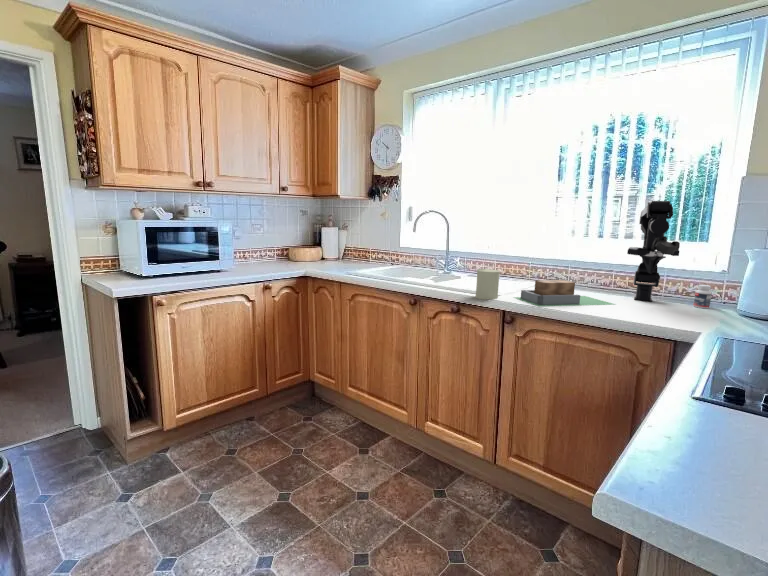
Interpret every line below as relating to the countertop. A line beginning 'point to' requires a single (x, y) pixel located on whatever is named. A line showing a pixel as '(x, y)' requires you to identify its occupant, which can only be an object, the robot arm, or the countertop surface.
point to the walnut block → (554, 287)
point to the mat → (583, 301)
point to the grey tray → (549, 298)
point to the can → (487, 284)
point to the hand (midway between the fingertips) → (650, 273)
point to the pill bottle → (702, 297)
